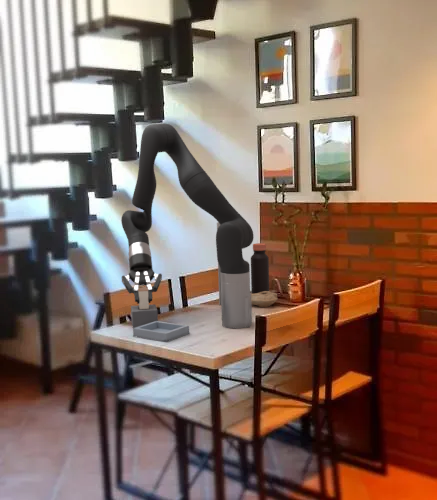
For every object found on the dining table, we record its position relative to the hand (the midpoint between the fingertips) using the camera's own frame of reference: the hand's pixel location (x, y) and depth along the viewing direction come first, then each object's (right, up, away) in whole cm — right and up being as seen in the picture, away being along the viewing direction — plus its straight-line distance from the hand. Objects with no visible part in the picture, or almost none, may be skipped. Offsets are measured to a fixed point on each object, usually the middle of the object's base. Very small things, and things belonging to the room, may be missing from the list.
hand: (144, 301), depth 222 cm
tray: (+7, -9, -11) cm, 16 cm away
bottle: (+40, -1, +43) cm, 59 cm away
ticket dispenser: (0, -8, +3) cm, 8 cm away
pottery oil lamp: (+39, -4, +26) cm, 47 cm away
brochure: (+28, -3, +35) cm, 45 cm away
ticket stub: (0, -5, +3) cm, 5 cm away
